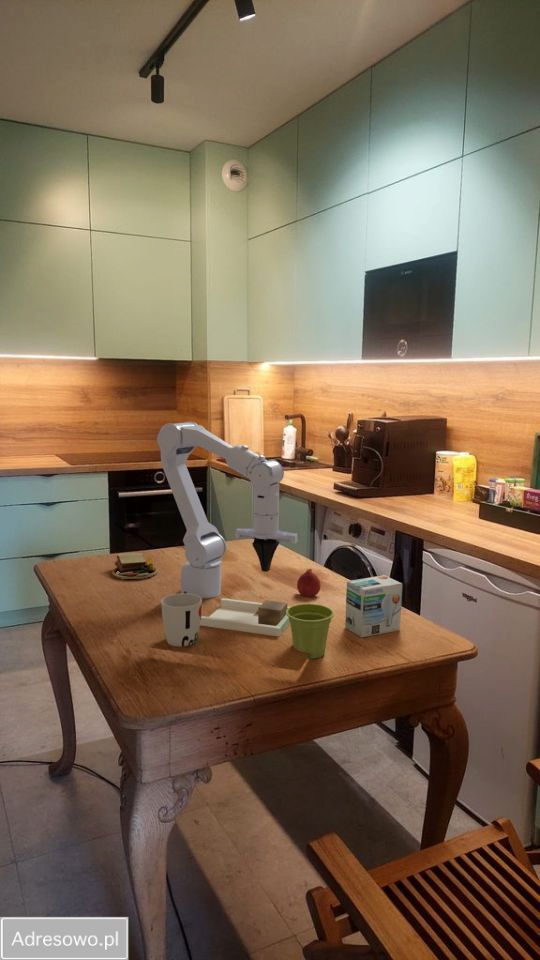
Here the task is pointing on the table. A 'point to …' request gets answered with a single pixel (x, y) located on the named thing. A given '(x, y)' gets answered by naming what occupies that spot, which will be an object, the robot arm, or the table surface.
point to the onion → (308, 584)
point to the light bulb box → (373, 605)
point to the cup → (181, 618)
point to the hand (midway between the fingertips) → (265, 570)
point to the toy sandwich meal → (134, 566)
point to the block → (271, 612)
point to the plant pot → (310, 628)
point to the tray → (242, 618)
